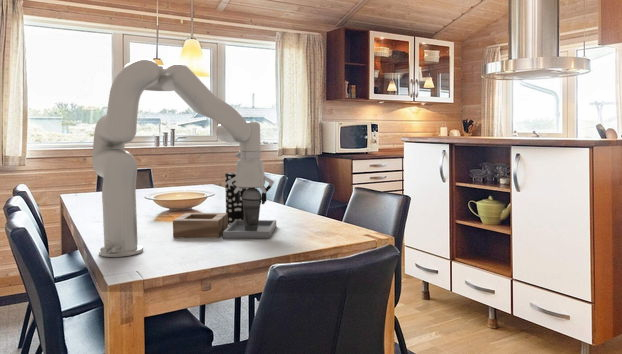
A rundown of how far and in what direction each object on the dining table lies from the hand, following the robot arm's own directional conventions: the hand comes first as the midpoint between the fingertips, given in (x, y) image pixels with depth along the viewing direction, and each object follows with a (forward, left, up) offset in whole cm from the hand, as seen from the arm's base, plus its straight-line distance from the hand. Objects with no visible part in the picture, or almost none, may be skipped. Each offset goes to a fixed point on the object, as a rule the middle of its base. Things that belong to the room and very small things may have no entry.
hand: (250, 203), depth 180 cm
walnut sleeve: (-1, +18, -11) cm, 21 cm away
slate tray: (0, 0, -11) cm, 11 cm away
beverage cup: (0, 0, -10) cm, 10 cm away
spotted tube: (+19, +9, -11) cm, 24 cm away
